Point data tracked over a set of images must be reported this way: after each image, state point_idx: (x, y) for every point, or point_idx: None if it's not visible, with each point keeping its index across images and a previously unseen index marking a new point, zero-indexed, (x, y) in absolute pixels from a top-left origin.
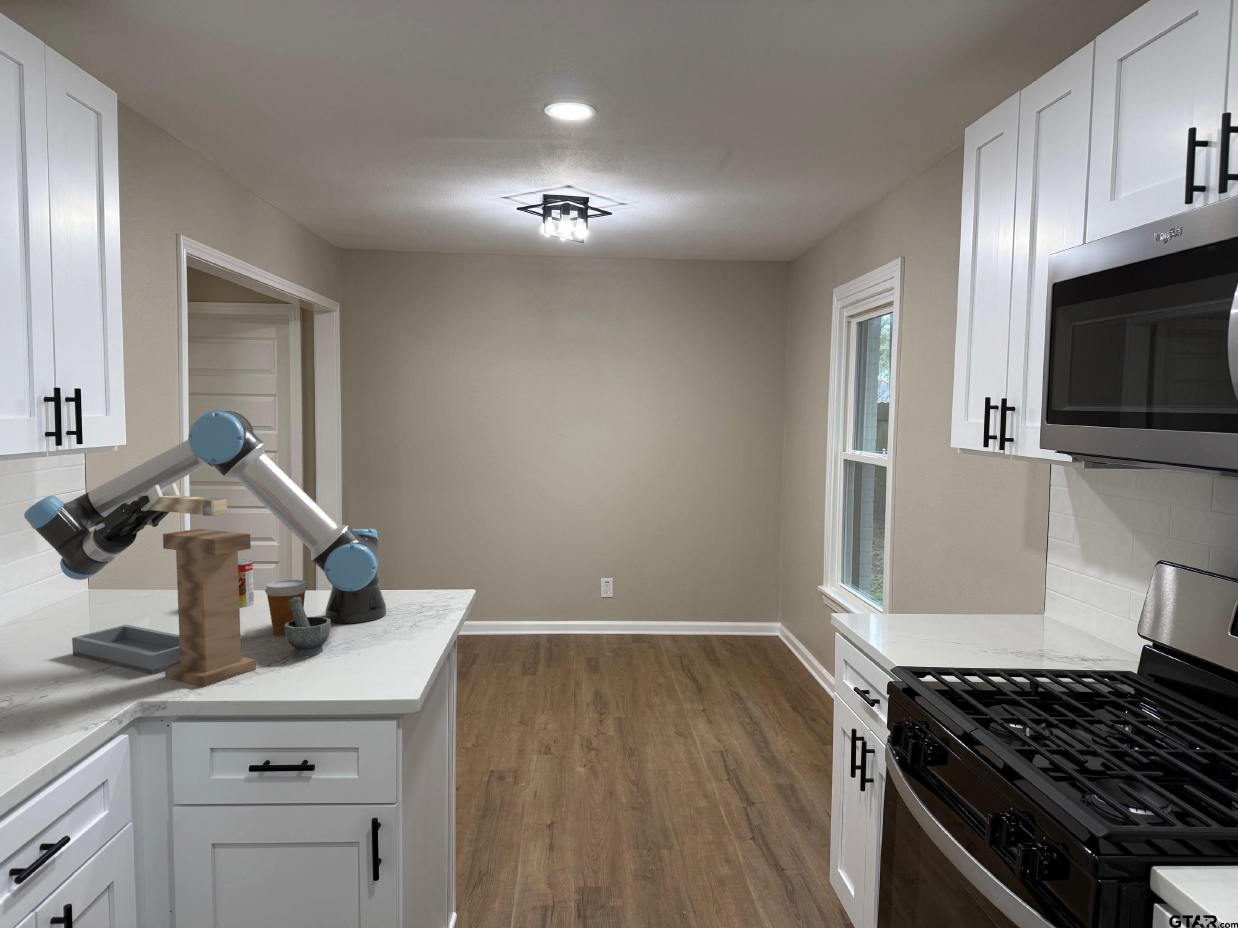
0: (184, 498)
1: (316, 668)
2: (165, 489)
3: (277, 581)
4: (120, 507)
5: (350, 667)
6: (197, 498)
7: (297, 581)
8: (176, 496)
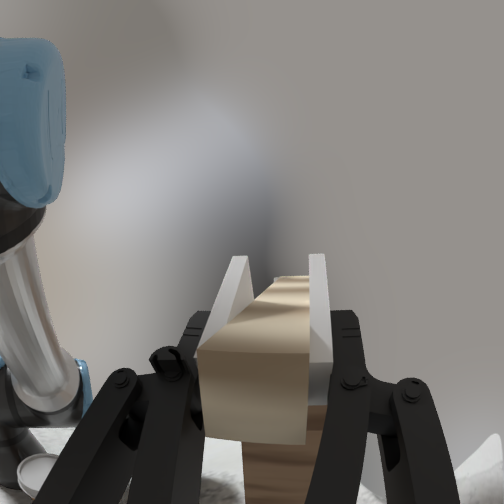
0: (307, 285)
1: (229, 459)
2: (237, 288)
3: (22, 480)
4: (430, 415)
5: (219, 440)
6: (293, 282)
7: (26, 462)
8: (279, 295)
